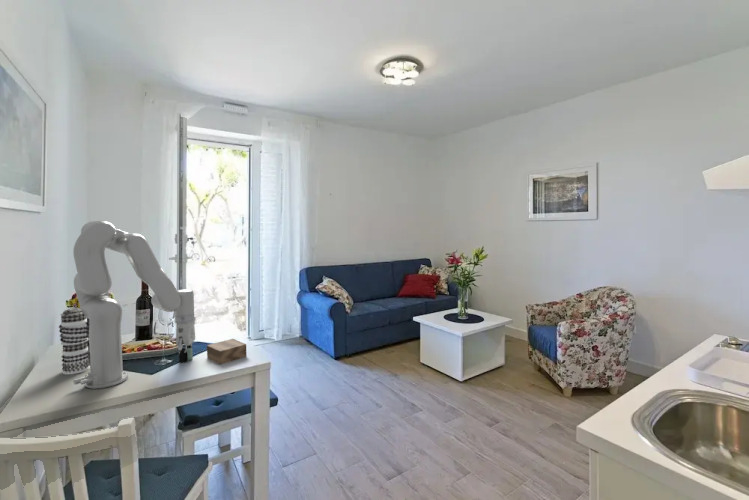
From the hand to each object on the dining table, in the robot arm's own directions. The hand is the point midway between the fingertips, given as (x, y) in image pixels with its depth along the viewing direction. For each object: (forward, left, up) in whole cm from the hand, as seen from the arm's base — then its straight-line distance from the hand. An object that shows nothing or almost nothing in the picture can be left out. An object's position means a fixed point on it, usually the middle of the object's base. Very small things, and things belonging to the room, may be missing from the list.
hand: (185, 358), depth 152 cm
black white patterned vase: (-31, +25, -1) cm, 40 cm away
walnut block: (+12, -12, -1) cm, 17 cm away
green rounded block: (0, 0, -1) cm, 1 cm away
